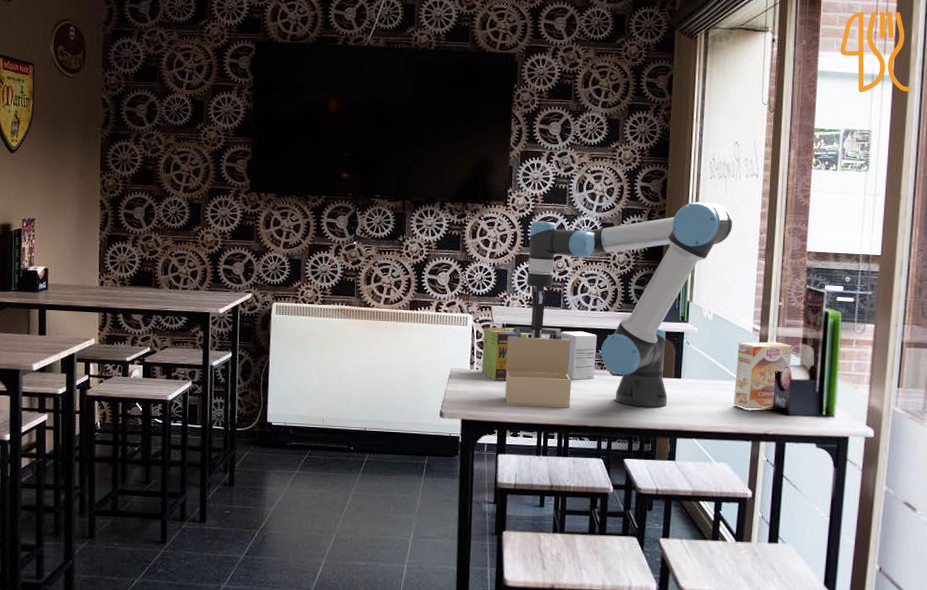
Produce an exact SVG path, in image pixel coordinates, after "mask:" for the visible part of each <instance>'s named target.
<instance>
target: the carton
mask: <svg viewBox="0 0 927 590" xmlns="http://www.w3.org/2000/svg"><path fill="white" fill-rule="evenodd" d="M571 386H572V379H570V377H569V376H568V374H561V373H542V372H520V371H507V374H506V381H505V391H504V392H505V395H504V397H505V401H506V402H505V403H506V405H513V406H529V407H530V406H532V407H549V408H550V407H552V408H553V407H554V408H570V403H571V390H572V389H571V388H572V387H571Z"/></svg>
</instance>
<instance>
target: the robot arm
mask: <svg viewBox="0 0 927 590" xmlns="http://www.w3.org/2000/svg"><path fill="white" fill-rule="evenodd" d="M732 229H733V219H732V216H731V214H730V212H729V211H728V210H727V209H726V207H724V206H723V205H720V204H719V203H714V202H713V203H711V202H710V203H709V202H705V201H694V202H691V203H688V204H685V205H684V206H682V207H680V208H679V210H677V212H676V214H674V216H673V217H668V218H667V217H666V218H660V219H655V220H654V219H653V220H647V221H643V222H635V223H630V224H629V223H628V224H623V225H617V226H616V225H615V226H611V227H610V226H609V227H604V228H598V229H592V230H591V229H588V230H577V229H576V230H572V229H571V230H570V229H557V224H556V223H555V222H551V221H549V222H548V221H533V222H532V223H531V227H530V234H529V255H528V260H527V261H526V265H528V268H527V270H528V271H529V272H528V273H527V282H526V283H527V286H530V287H534V290H533V291H532V292H531V297H532V298H531V299H532V300H531V304H532V306H531V307H532V311H531V323H530V324H531V330H532V333H530V334H531V337H530V338H542V334H541V333H542V328H544V326H543V324H544V313H545V312H544V311H545V305H546V299H547V293H546V292H545V288H551V287H552V286H553V274H552V273H553V272H554V263H555V260H554V259H555V256H556V255H557V256H558V255H561V256H569V257H576V258H582V257H583V258H587V257H590V256H597V255H603V254H607V253H614V252H620V251H621V252H622V251H629V250H635V249H644V248H649V247H657V246H665V245H669V247H668V249H667V250H666V252H665V254H664V256H663V258H662V260H661V261H660V263H659V264H658V266H657V268H656V270H655V272H654V273H653V275H652V277H651V279H650V281H649V282H648V284H647V285H646V287H645V289H644V291H643V293H642V294H641V296H640V298H639V300H638V302H637V303H636V305H635V307H634V308H633V311H632V312H631V314H630V316H629V317H628V318H624V319H621V321H620V322H619V325H618V326H617V328H616V329H615V331H614V333H613V334H611V335H609V336H608V337H607V338H606V339H605V340H604V341H603V343H602V346H601V350H600V355H601V358H602V362H603V364H604V366H605V367H606V368H607V369H608V370H609V371H610V372H612V373H615V374H617V375H622V376H621V378H620V379H621V380H620V382H619V385H618V386H617V389H616V392H615V401H616V402H618V403H621V404H624V405H628V406H635V407H644V408H645V407H647V408H657V407H663V406H666V405H667V401H668V400H667V399H668V395H667V391H666V387H665V384H664V379H663V375H664V374H663V372H664V361H665V348H666V341H667V340H666V339H667V338H666V330H664V329H663V328H662V327H660V326H661V324H662V323H663V322H664V320H665V318H666V316H667V315H668V312H669V310H671V307H672V306H673V304H674V303H675V300H676V299H677V297H678V295H679V294H680V292H681V291H682V289H683V287H684V285H685V283H686V281H687V280H688V278H689V276H690V275H691V273H692V271H693V269H694V268H695V266H696V265H697V263H698V262H699V261H702V260H705V259H706V258H707V256H708V255H709V253H710V251H711V250H712V248H713V247H714V245H717V244H719V243H722V242H723V241H725V240H726V239H727V238H728V236H729V235H730V233H731V231H732Z"/></svg>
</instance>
